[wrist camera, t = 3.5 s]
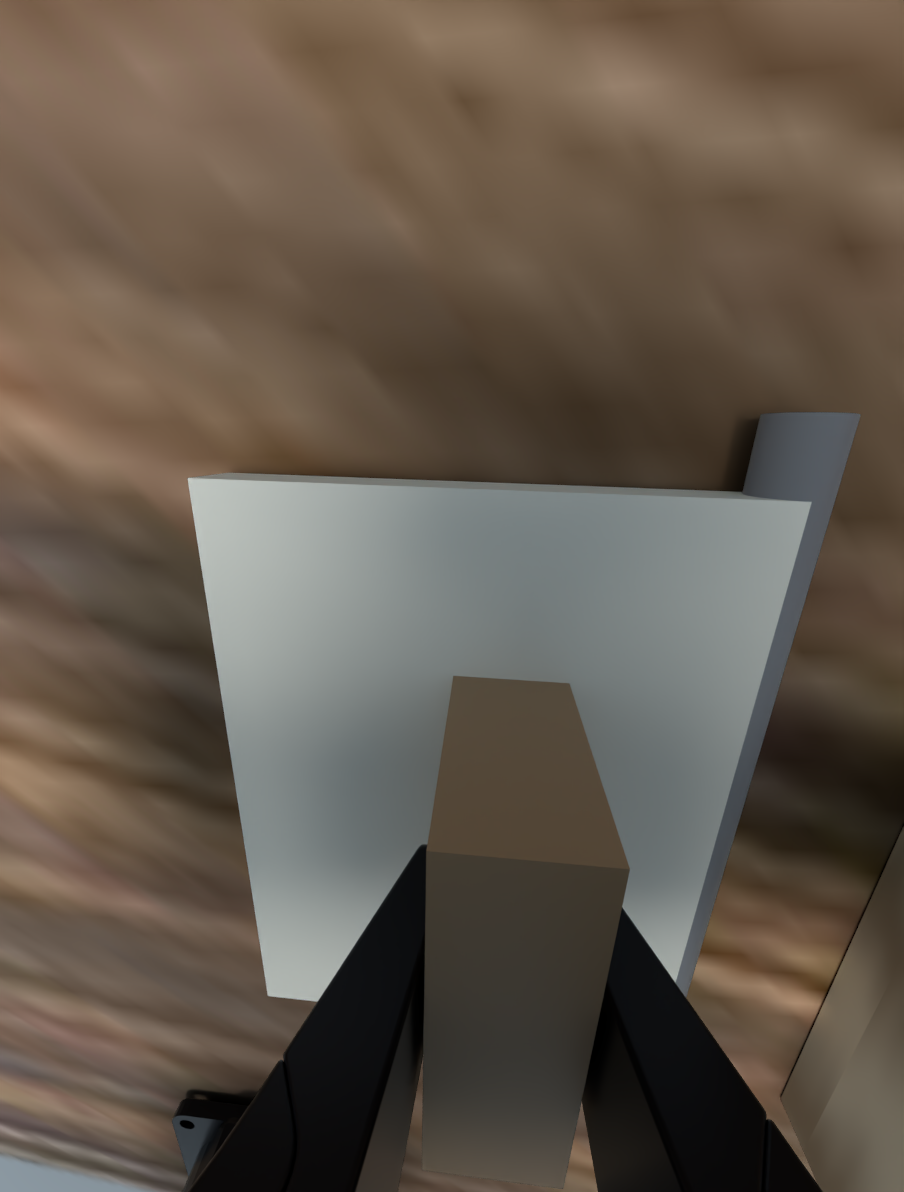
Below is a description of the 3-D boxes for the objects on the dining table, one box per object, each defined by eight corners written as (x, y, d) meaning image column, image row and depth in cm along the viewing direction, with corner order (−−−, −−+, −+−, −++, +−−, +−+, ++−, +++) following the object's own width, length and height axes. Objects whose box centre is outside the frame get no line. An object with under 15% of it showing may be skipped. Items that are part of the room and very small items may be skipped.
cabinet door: (219, 401, 8) (-139, 351, 3) (822, 417, 7) (1367, 382, 3) (292, 974, 13) (183, 1268, 8) (658, 1015, 12) (758, 1356, 8)
